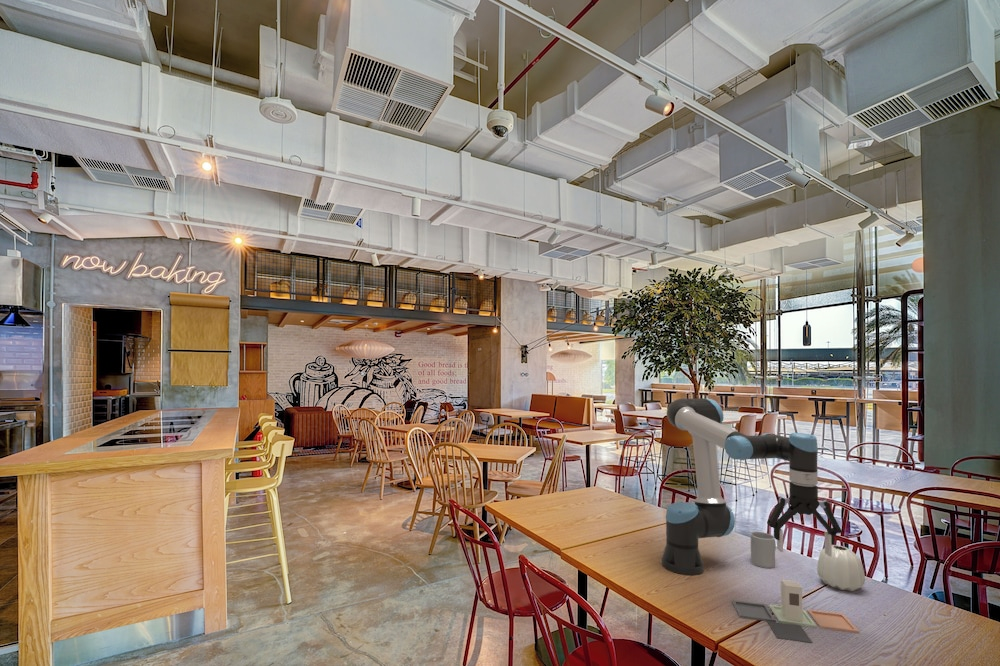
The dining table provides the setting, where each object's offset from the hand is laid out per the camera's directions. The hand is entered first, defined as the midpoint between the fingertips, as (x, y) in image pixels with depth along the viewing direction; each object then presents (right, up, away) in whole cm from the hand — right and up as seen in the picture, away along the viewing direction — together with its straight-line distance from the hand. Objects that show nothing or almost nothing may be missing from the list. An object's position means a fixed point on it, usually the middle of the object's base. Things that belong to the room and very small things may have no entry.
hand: (803, 552), depth 149 cm
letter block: (-4, -20, -1) cm, 20 cm away
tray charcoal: (-15, -20, +2) cm, 25 cm away
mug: (+11, -23, +41) cm, 48 cm away
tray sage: (-4, -20, -1) cm, 20 cm away
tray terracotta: (+6, -20, -4) cm, 21 cm away
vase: (+27, -22, +22) cm, 42 cm away
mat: (-11, -19, -10) cm, 24 cm away
